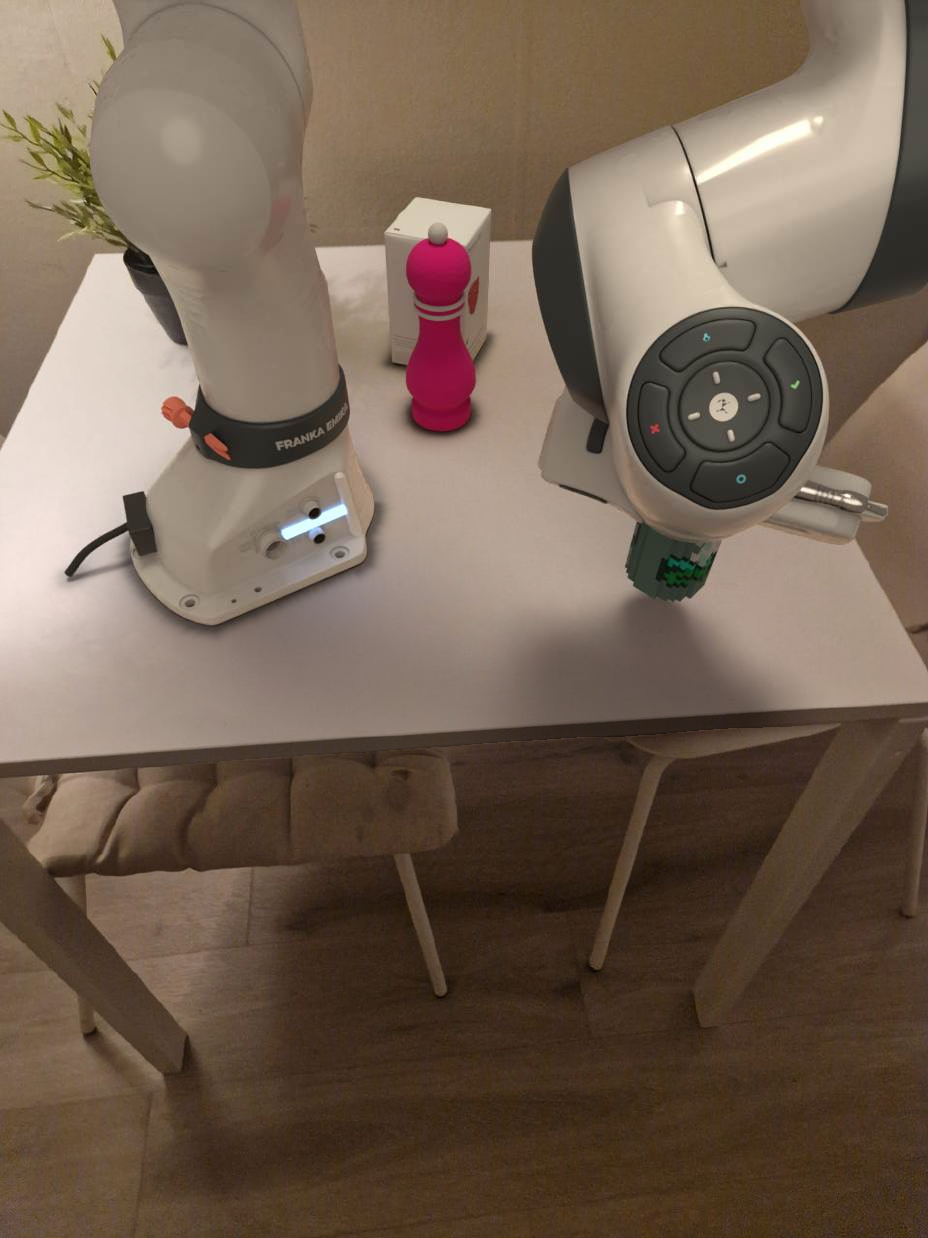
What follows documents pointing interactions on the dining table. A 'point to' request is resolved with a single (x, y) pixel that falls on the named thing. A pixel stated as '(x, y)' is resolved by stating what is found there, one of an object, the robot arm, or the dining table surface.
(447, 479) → the dining table surface
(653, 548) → the can
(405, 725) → the dining table surface
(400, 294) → the white product box
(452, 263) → the pepper mill
